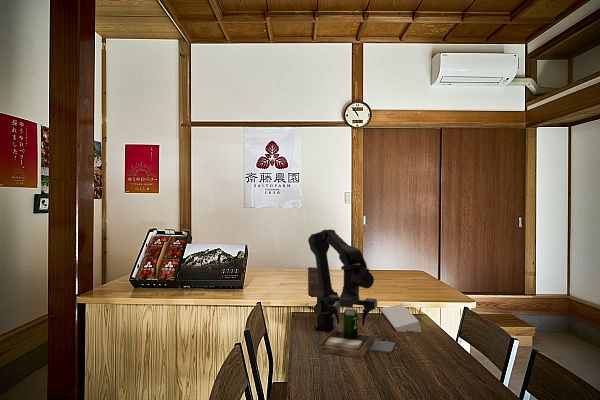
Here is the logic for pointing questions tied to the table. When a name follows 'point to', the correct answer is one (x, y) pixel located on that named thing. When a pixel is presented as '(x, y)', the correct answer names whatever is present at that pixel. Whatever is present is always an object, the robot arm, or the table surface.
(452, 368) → the table surface
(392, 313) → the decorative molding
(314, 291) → the dark brown tall block
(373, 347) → the grey rubber mat
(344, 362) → the table surface
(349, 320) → the beer can
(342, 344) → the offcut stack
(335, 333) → the wooden tray
